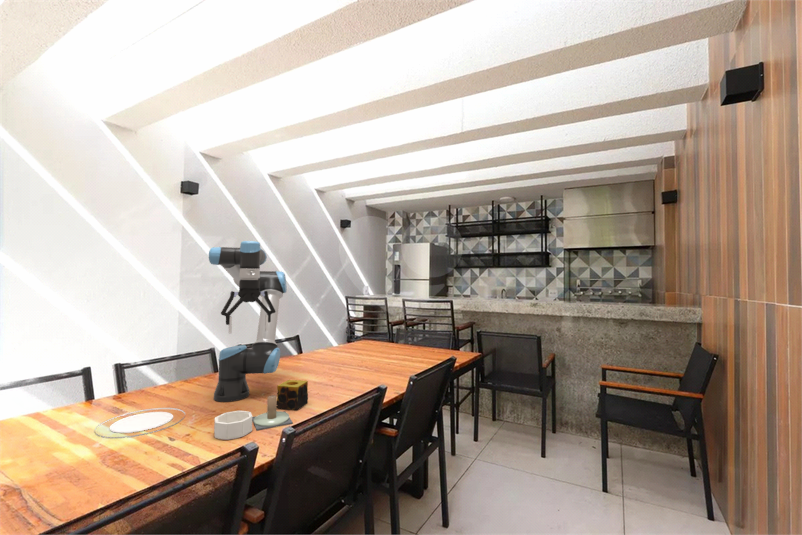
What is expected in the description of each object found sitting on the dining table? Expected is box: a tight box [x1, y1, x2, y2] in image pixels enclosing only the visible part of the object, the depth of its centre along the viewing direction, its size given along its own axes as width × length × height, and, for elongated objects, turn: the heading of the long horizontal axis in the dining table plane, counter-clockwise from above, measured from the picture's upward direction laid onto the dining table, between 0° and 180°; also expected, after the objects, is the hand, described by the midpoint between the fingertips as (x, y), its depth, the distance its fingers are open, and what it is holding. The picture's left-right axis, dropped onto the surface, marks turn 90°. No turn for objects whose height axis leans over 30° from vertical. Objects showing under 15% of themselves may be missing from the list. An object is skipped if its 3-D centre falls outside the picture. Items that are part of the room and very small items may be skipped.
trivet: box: [252, 410, 294, 432], centre depth 138 cm, size 13×13×1 cm
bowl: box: [213, 410, 253, 441], centre depth 127 cm, size 12×12×6 cm
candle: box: [276, 379, 309, 411], centre depth 155 cm, size 10×10×10 cm
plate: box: [94, 407, 186, 439], centre depth 136 cm, size 28×28×1 cm
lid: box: [253, 394, 290, 426], centre depth 138 cm, size 13×13×9 cm
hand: (248, 331), depth 143 cm, fingers open, 13 cm apart
